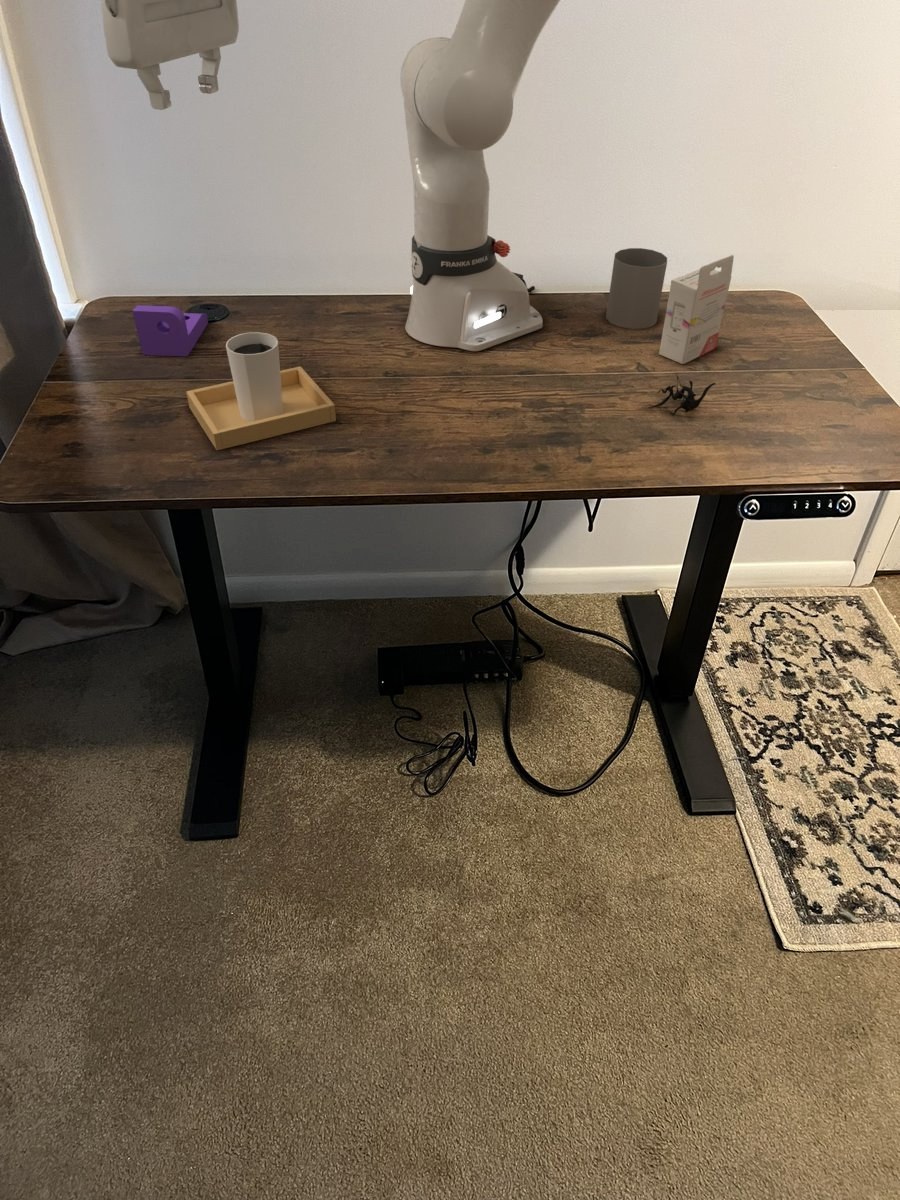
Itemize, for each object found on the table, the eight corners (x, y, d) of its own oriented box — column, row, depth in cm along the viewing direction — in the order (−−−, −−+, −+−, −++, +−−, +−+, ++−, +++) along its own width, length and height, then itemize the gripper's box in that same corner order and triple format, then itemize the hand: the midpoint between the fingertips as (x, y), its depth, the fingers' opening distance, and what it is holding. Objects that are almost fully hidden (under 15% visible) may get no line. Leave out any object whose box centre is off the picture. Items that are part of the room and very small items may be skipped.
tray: (302, 381, 125) (300, 365, 124) (336, 420, 117) (334, 404, 115) (189, 407, 119) (185, 391, 117) (216, 450, 111) (213, 434, 109)
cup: (620, 303, 148) (629, 244, 141) (664, 316, 144) (676, 255, 138) (597, 320, 143) (605, 259, 136) (642, 333, 139) (652, 271, 132)
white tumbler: (245, 398, 121) (235, 330, 114) (292, 402, 120) (284, 334, 113) (230, 422, 116) (218, 352, 109) (278, 426, 115) (269, 356, 108)
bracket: (187, 356, 131) (178, 312, 126) (142, 354, 131) (132, 310, 126) (208, 323, 140) (200, 280, 135) (166, 321, 140) (157, 279, 135)
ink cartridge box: (690, 339, 138) (709, 245, 128) (715, 349, 135) (738, 254, 125) (656, 354, 134) (674, 258, 124) (682, 365, 131) (702, 268, 121)
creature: (637, 410, 123) (673, 424, 116) (637, 372, 120) (675, 385, 114) (680, 398, 125) (719, 411, 119) (682, 361, 123) (721, 373, 116)
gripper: (125, -35, 85) (153, 122, 94) (240, -51, 99) (255, 87, 108) (73, -39, 87) (106, 115, 96) (194, -54, 101) (213, 81, 110)
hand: (186, 100), depth 102 cm, fingers open, 8 cm apart
